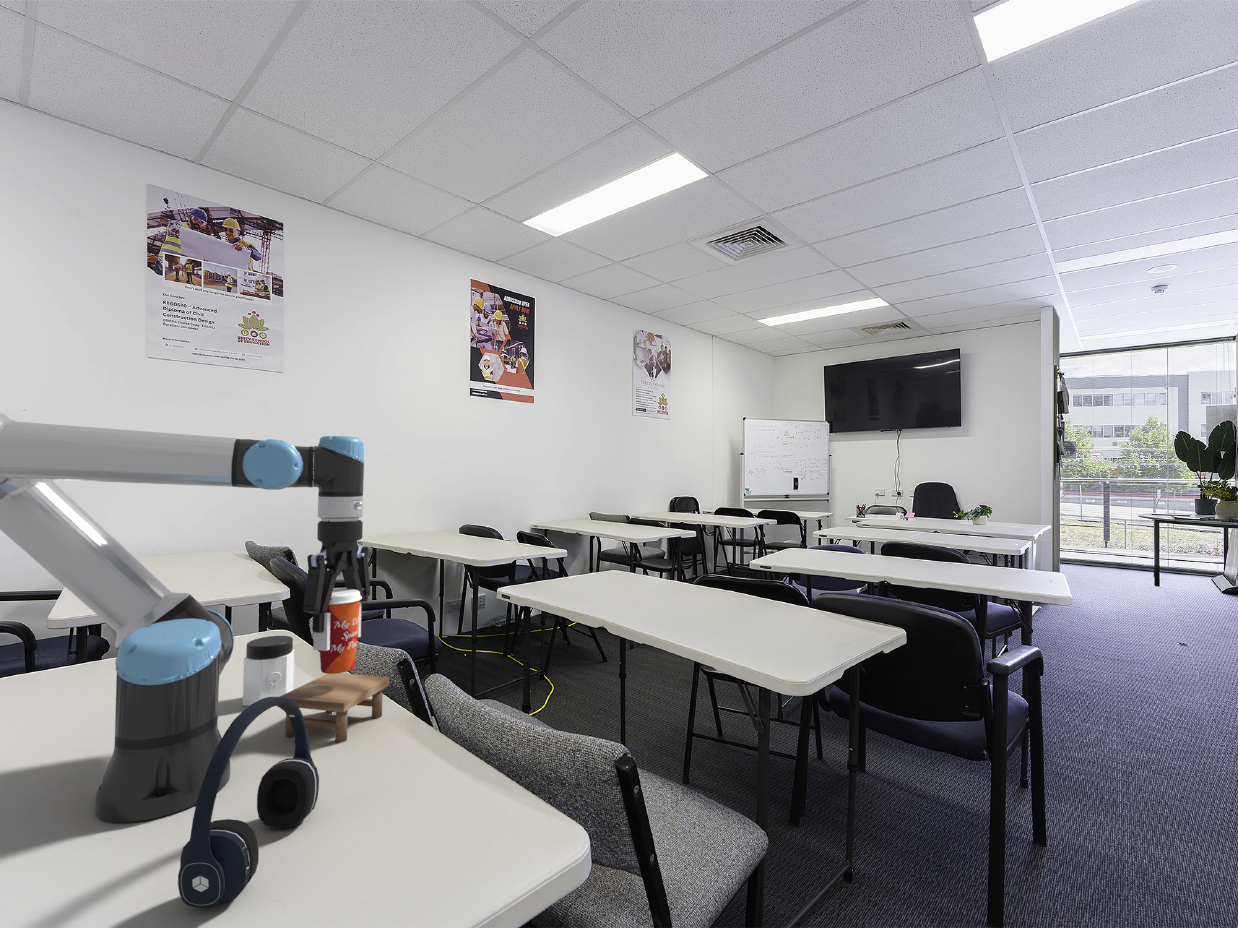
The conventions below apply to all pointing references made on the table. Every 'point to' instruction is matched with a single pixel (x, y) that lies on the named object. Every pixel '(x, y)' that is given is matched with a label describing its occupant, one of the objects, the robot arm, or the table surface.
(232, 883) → the headphones
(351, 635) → the paper cup
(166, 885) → the table surface
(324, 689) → the stool
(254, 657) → the jar
